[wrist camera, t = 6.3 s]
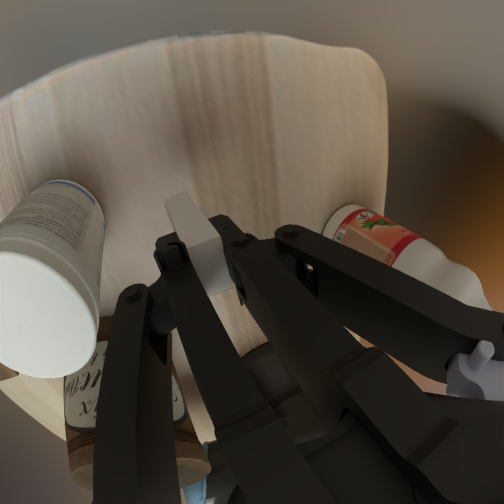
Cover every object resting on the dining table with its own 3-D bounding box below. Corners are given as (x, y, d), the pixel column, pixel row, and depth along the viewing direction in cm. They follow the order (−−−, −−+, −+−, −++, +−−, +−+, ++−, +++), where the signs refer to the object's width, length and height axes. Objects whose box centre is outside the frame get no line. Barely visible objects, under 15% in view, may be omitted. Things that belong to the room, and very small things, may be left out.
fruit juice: (307, 241, 36) (482, 388, 13) (350, 189, 35) (537, 297, 12) (337, 271, 41) (473, 390, 19) (373, 226, 40) (518, 324, 18)
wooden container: (167, 310, 31) (236, 486, 14) (171, 381, 38) (222, 509, 20) (53, 318, 25) (48, 501, 7) (82, 389, 31) (104, 523, 14)
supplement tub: (8, 209, 18) (-64, 295, 6) (79, 158, 20) (22, 206, 8) (56, 282, 23) (33, 395, 12) (123, 241, 25) (130, 350, 14)
